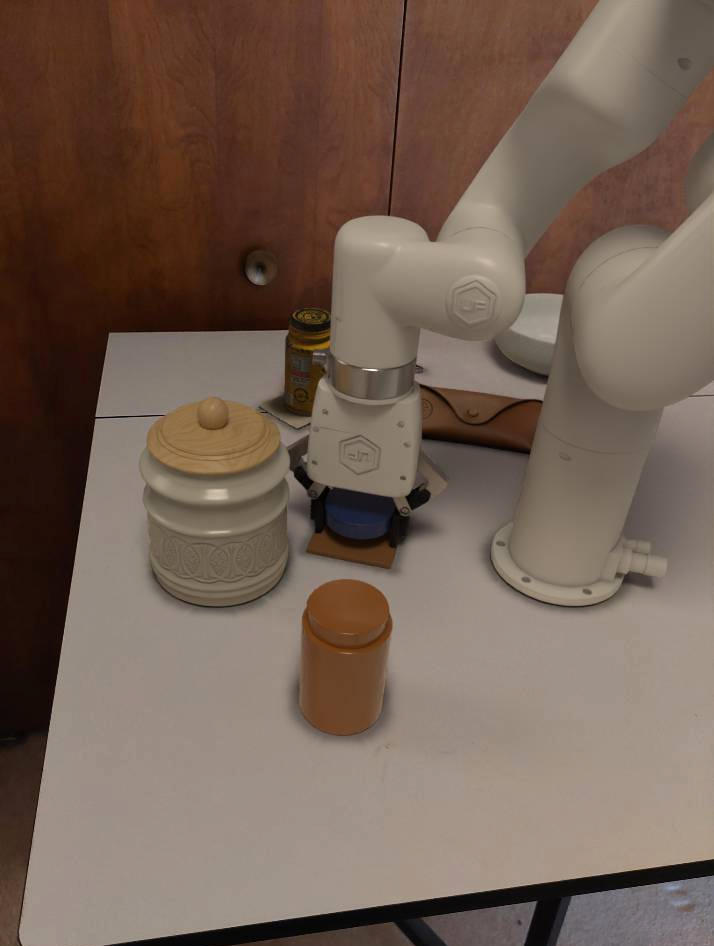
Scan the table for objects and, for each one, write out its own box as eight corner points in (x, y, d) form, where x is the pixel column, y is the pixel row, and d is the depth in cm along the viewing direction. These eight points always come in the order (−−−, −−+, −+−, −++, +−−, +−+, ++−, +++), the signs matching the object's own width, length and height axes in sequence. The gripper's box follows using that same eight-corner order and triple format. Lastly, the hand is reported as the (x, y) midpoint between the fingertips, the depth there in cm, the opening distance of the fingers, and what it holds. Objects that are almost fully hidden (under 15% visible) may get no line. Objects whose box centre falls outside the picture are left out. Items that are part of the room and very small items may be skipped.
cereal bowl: (466, 344, 117) (474, 297, 112) (566, 333, 121) (577, 287, 117) (525, 399, 104) (536, 348, 100) (633, 384, 108) (649, 335, 104)
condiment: (346, 407, 101) (352, 317, 94) (297, 430, 97) (300, 336, 89) (306, 386, 105) (309, 298, 98) (257, 407, 101) (256, 316, 93)
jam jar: (379, 672, 66) (391, 576, 60) (384, 736, 61) (398, 639, 55) (299, 670, 66) (303, 573, 60) (298, 734, 61) (301, 637, 55)
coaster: (405, 519, 83) (406, 516, 83) (390, 569, 77) (390, 566, 76) (327, 504, 85) (327, 501, 84) (306, 552, 78) (306, 549, 78)
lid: (323, 538, 77) (324, 524, 75) (322, 494, 82) (323, 480, 81) (397, 540, 77) (399, 525, 76) (392, 495, 82) (393, 481, 81)
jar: (160, 621, 70) (140, 449, 59) (144, 532, 80) (124, 371, 69) (303, 597, 73) (309, 429, 62) (270, 515, 83) (271, 357, 72)
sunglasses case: (393, 434, 95) (401, 378, 94) (395, 435, 102) (403, 382, 101) (547, 455, 93) (557, 397, 92) (539, 454, 100) (548, 400, 99)
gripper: (262, 374, 68) (264, 538, 79) (466, 405, 65) (438, 572, 76) (288, 339, 74) (286, 496, 85) (476, 366, 71) (449, 526, 82)
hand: (358, 531), depth 80 cm, fingers closed on lid, 7 cm apart
